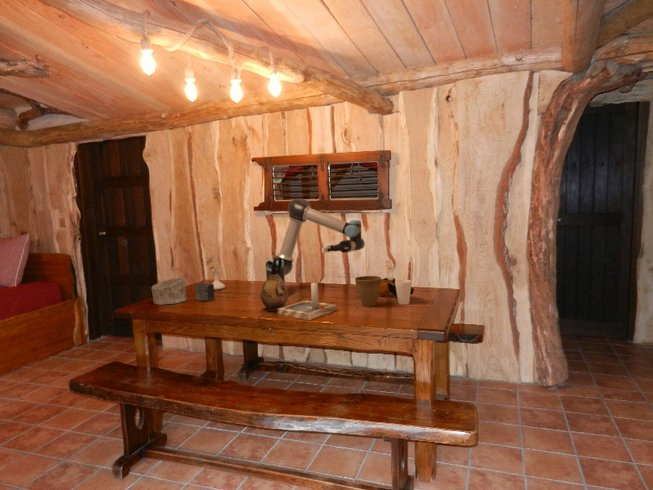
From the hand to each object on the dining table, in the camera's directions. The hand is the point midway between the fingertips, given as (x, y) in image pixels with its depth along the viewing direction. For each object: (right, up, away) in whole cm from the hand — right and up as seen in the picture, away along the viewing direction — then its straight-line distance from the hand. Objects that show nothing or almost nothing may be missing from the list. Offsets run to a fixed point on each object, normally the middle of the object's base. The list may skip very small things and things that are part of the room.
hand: (322, 250), depth 264 cm
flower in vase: (-77, -29, +54) cm, 98 cm away
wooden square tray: (-9, -34, -18) cm, 39 cm away
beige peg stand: (-9, -34, -18) cm, 39 cm away
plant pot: (+26, -32, -7) cm, 42 cm away
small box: (-75, -32, +22) cm, 85 cm away
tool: (+44, -29, +9) cm, 54 cm away
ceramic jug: (-27, -34, -7) cm, 44 cm away
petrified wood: (-97, -33, +20) cm, 105 cm away
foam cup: (+47, -31, -5) cm, 56 cm away
